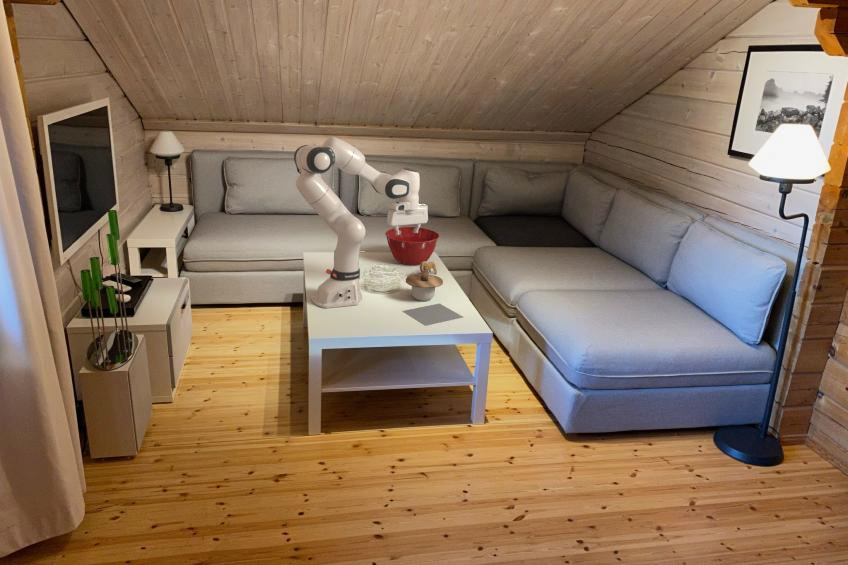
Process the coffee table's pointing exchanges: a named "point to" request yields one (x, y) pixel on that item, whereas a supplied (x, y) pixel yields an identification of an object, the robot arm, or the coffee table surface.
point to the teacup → (423, 293)
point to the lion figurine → (428, 267)
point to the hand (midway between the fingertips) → (407, 233)
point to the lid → (424, 280)
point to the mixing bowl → (412, 244)
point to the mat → (432, 314)
